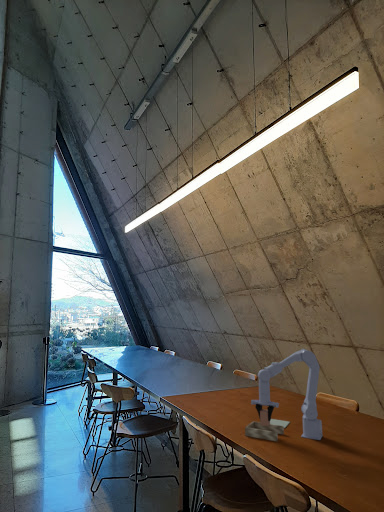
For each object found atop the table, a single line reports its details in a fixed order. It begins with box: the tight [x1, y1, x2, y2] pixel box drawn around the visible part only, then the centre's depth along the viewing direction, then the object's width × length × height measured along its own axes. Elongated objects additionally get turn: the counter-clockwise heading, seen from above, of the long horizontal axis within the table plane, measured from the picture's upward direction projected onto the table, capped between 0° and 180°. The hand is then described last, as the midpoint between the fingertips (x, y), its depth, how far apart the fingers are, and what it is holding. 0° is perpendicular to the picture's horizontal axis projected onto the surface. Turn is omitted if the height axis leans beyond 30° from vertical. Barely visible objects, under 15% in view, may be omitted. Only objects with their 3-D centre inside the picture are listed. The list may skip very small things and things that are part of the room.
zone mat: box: [270, 418, 291, 429], centre depth 207 cm, size 12×12×1 cm
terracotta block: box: [259, 408, 270, 426], centre depth 189 cm, size 4×4×7 cm
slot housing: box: [244, 421, 285, 442], centre depth 188 cm, size 17×13×4 cm
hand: (265, 420), depth 189 cm, fingers closed on terracotta block, 4 cm apart
